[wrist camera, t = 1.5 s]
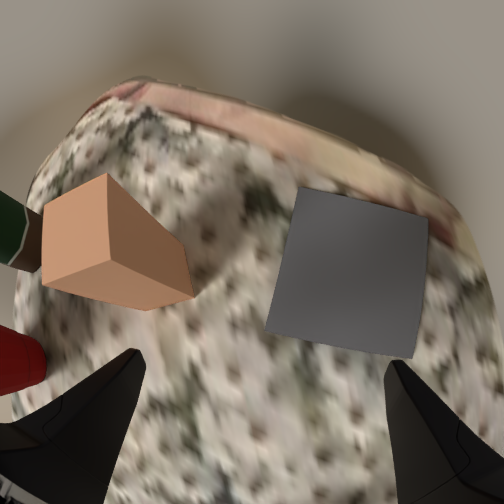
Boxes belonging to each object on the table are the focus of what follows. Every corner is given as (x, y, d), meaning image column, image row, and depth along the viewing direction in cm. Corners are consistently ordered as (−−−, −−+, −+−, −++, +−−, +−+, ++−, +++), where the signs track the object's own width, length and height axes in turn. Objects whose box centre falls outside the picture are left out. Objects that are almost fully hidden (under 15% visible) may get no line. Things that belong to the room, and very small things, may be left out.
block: (194, 297, 24) (110, 259, 12) (145, 311, 24) (42, 285, 12) (183, 245, 26) (107, 172, 13) (137, 260, 26) (44, 205, 13)
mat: (408, 358, 20) (412, 358, 20) (265, 330, 23) (264, 330, 22) (424, 221, 24) (428, 218, 23) (298, 190, 26) (298, 186, 25)
